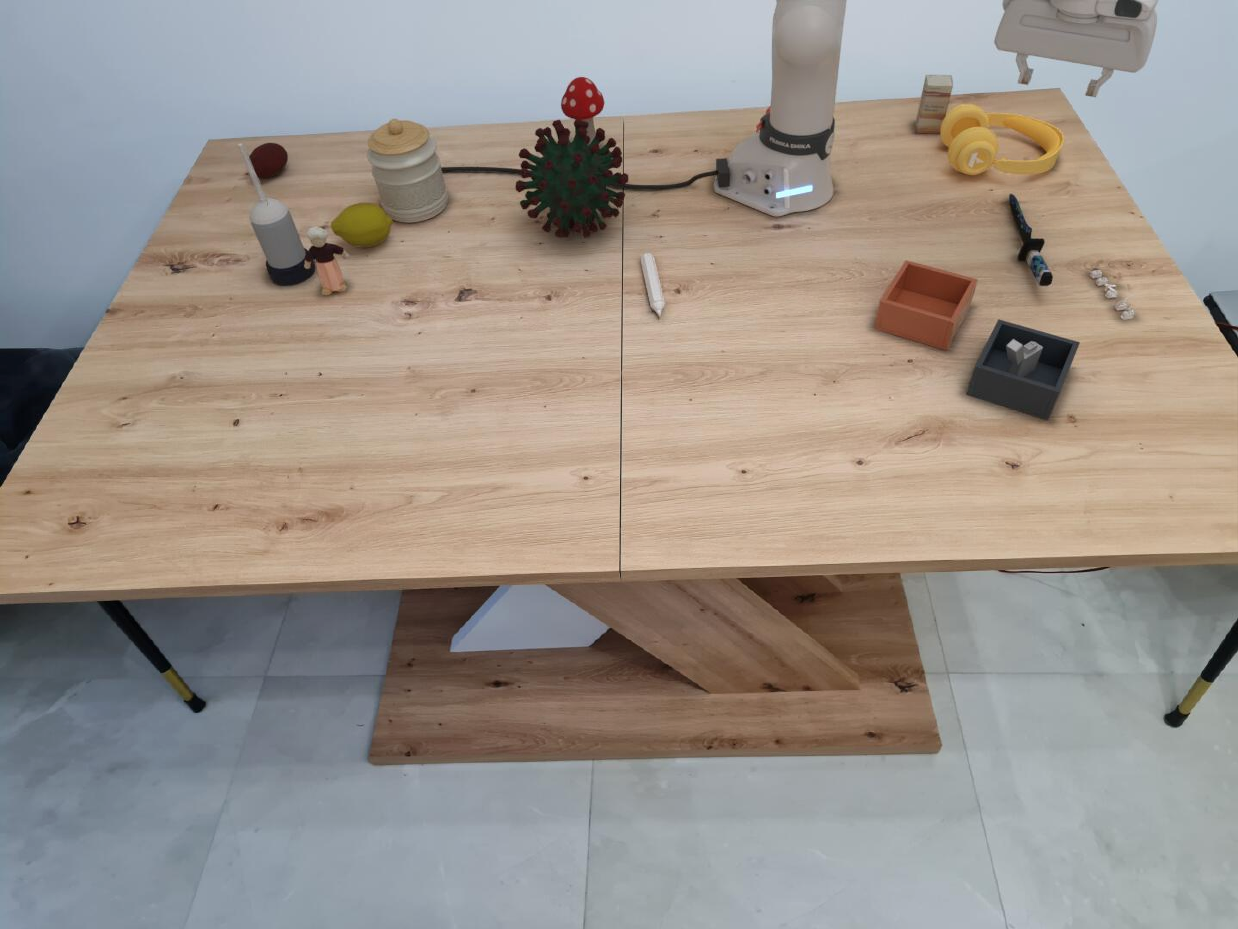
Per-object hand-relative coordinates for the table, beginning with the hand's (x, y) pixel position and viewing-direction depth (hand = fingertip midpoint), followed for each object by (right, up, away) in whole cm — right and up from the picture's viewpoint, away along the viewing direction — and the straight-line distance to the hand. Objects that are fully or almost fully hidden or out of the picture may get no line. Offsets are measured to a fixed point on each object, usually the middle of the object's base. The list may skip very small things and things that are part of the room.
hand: (1057, 88), depth 131 cm
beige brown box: (-1, +13, +50) cm, 52 cm away
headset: (+8, +4, +41) cm, 42 cm away
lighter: (-5, -42, +2) cm, 42 cm away
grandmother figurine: (-114, -24, +29) cm, 120 cm away
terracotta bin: (-15, -31, +13) cm, 37 cm away
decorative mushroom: (-70, +9, +54) cm, 89 cm away
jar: (-103, -4, +45) cm, 113 cm away
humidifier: (-123, -20, +33) cm, 129 cm away
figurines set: (+15, -28, +13) cm, 35 cm away
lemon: (-111, -14, +37) cm, 117 cm away
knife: (+5, -18, +23) cm, 30 cm away
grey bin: (-5, -43, +2) cm, 43 cm away
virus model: (-72, -11, +36) cm, 81 cm away
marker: (-58, -26, +22) cm, 67 cm away
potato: (-136, +6, +56) cm, 147 cm away
